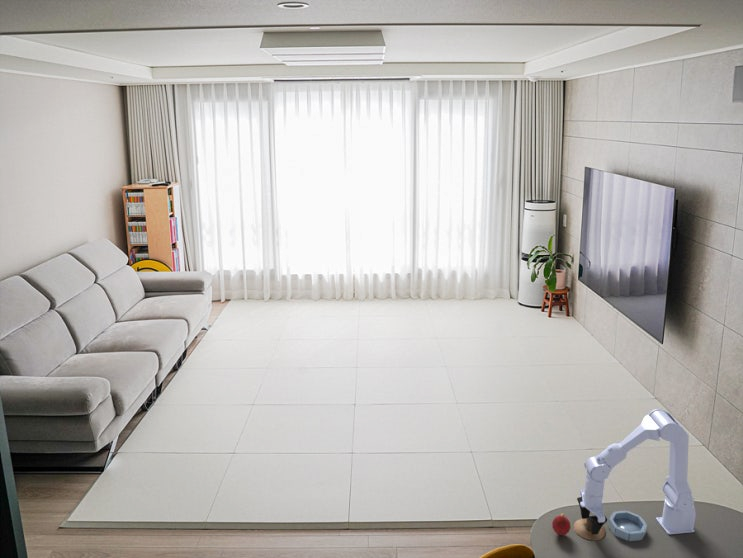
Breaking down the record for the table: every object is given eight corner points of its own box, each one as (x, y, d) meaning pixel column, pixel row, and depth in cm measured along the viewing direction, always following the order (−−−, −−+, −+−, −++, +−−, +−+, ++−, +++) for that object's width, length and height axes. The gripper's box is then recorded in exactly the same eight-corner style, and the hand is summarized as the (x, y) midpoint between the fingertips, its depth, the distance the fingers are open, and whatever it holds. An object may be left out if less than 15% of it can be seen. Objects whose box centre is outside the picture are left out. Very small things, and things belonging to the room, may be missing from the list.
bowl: (634, 516, 223) (635, 509, 222) (651, 539, 213) (652, 531, 212) (603, 519, 222) (604, 512, 221) (619, 542, 212) (620, 534, 211)
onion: (570, 541, 212) (572, 521, 210) (552, 539, 214) (553, 519, 211) (568, 529, 218) (570, 510, 215) (551, 527, 219) (552, 507, 216)
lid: (596, 519, 223) (598, 508, 222) (610, 539, 214) (611, 528, 212) (569, 521, 222) (570, 511, 221) (581, 542, 213) (582, 531, 211)
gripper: (573, 479, 219) (569, 512, 224) (591, 507, 206) (587, 542, 210) (593, 477, 220) (589, 510, 224) (613, 505, 206) (608, 539, 211)
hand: (589, 525), depth 217 cm, fingers open, 7 cm apart
